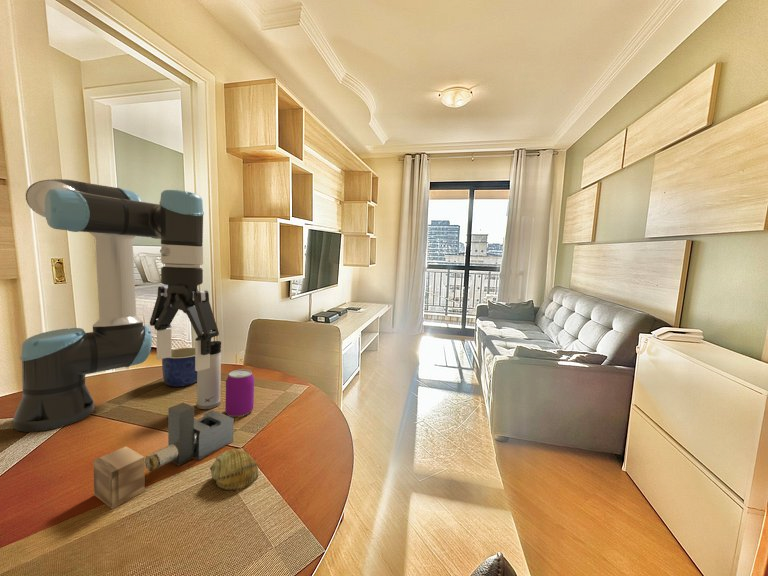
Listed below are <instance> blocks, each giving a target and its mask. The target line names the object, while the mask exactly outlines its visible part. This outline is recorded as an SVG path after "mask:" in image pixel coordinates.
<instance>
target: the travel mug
mask: <svg viewBox="0 0 768 576" xmlns="http://www.w3.org/2000/svg"><path fill="white" fill-rule="evenodd" d="M221 348H222V341H219V340H211V353H210V368H207V369H204V370H201V371H197V382H196V383H197V384H196V385H197V386H196V390H197V391H196V406H197V408H198V409H200V410H210V409H214V408H216V406H217V407H218V406H219V405H221V382H222V381H221V380H222V379H221V376H222V375H221V374H222V373H221V372H222V371H221V369H222V367H221V366H222V349H221Z"/></svg>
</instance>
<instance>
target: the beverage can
mask: <svg viewBox="0 0 768 576" xmlns="http://www.w3.org/2000/svg"><path fill="white" fill-rule="evenodd" d="M254 397H255V378H254V374H253V372H252V370H250V369H243V368H241V369H236V370H231V371H230V372H229V373H228V375H227V377H226V380H225V414H226V415H227V416H229V415H230V416H229V417H232V416H234V417H233V418H239V417H238V416H241V417H243V415H245V416H246V414H247V415H248V413H249V412H250V413H251V412H252V411H253V409H254V406H255V405H254V403H255V399H254ZM250 413H249V414H250Z"/></svg>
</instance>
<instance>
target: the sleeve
mask: <svg viewBox="0 0 768 576" xmlns="http://www.w3.org/2000/svg"><path fill="white" fill-rule="evenodd" d="M234 420H235V417H232V416H229V415H228V414H224V413H222V412H219V411H216V410H211V411H210V410H209V411H208V412H206V413H204V414H203V417H201V418H199V419H197V420H196V419H194V433H197V434H196V448H195V449H194V458H193V459H195V460H197V461H200V460H202V459H204V458H206V457H207V456H209V455H211V454H213V453H214V452H216V451H219V450H220V449H222V448H223V447H226V446H227V445H229V444H231V443H233V442H234V426H235V425H234V423H235V421H234ZM216 423H218V424H216ZM213 424H216V425H214V426H211V425H213ZM210 426H211V427H210ZM230 442H231V443H230Z"/></svg>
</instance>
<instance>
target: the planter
mask: <svg viewBox="0 0 768 576" xmlns="http://www.w3.org/2000/svg"><path fill="white" fill-rule="evenodd" d="M161 364H162V365H161V368H162V377H163V382H164V383H165V384H166V385H168V386H170V387H184V386H185V387H186V386H190V385H192V384H193V385H194V383H197V371H195V347H179V348H173V349H171V357H168V358H164V359H161Z"/></svg>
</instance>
